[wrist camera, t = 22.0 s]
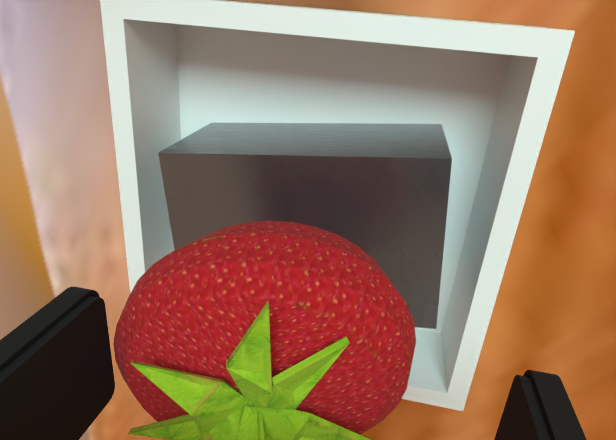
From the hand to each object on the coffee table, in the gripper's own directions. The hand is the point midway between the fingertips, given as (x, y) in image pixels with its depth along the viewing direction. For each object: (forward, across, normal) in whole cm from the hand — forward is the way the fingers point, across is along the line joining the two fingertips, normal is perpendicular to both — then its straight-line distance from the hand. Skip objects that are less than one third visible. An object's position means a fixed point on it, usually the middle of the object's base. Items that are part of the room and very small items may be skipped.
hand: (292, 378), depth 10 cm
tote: (+13, +2, 0) cm, 13 cm away
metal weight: (+12, +1, 0) cm, 12 cm away
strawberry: (+7, +2, 0) cm, 7 cm away
